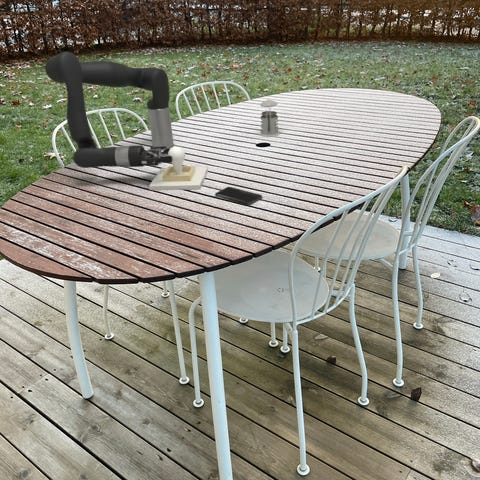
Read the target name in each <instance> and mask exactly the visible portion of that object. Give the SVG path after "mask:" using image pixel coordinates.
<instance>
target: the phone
mask: <svg viewBox="0 0 480 480" xmlns="http://www.w3.org/2000/svg"><path fill="white" fill-rule="evenodd" d="M214 196H215V197H216V198H219V199H223V200H227V201H229V202H232V203H233V202H234V203H236V204H240V205H244V206H252V205H253V204H255V203H257V202H258V201H260V200H262V199H263V195H262V194H259V193H254V192H252V191H247V190H244V189H240V188H237V187H232V186H227V187H225V188H222V189H221V190H218V191H217V192H215V193H214Z"/></svg>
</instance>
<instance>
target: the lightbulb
mask: <svg viewBox="0 0 480 480" xmlns="http://www.w3.org/2000/svg"><path fill="white" fill-rule="evenodd" d="M169 149H170V150H169V152H168V155H167V156H172V162H171V164H172V167H174V170H175V174H176V175H182V169H183V167H182V166H184V165H183V164H184V162H185V159H186V158H185V157H186V153H185V150H184V149H183V148H182V147H179V146H172V147H170V148H169Z"/></svg>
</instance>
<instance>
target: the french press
mask: <svg viewBox="0 0 480 480" xmlns="http://www.w3.org/2000/svg"><path fill="white" fill-rule="evenodd" d="M270 81H271V78H270V77H267V78H266V82H267V88H268V95H270V88H269V87H270V85H269V83H270ZM278 103H279V102H277V101H275V100H270V99H267V100H264V101H262V102H260V104H259V105H260V107H261V108H262V107H263V108H269V110H268V109H266V111H262V112H261V113H260V114H261V115H260V128H261V129H260V130H261V131H260V133H259V134H258V135H259V136H260V137H264V138H274V137H279V136H280V135H281V133H280V131H279V123H278V122H279V120H278V119H279V115H278V112H277V111H274V110H271V109H270V108H271V107H272V108H273V107H276V106H278Z"/></svg>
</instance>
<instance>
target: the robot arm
mask: <svg viewBox="0 0 480 480" xmlns="http://www.w3.org/2000/svg"><path fill="white" fill-rule="evenodd" d="M44 71H45V74H46V75H47V77H48V78H49V79H50V80H52V81H53V82H55V83H58V84H65V86H66V87H65V88H66V93H67V95H66V96H67V101H66V103H67V104H66V121H67V122H66V123H67V126H68V131H69V133H70V134H69V135H70V138H71V140H72V141H73V142H75V143H76V145H77V148H78V149H76V150H75V151H74V153H73V155H72V160H73V163H74V164H75V165H76V166H77V167H79V168H83V169H88V168H89V169H90V168H100V167H109V168H111V167H114V168H116V167H119V168H120V167H122V168H136V167H137V168H138V167H140V168H141V167H143V168H144V167H147V166H148V167H149V166H150V167H153V166H154V167H157V166H159V165H161V164H167V163H168V164H169V163H171V162H172V156H168V152H169V150H170V149H171V148H173V147H174V145H175V144H174V136H173V129H172V120H171V113H170V84H169V83H170V82H169V77H168V74H167V72H166V71H165V70H164V69H163V68H159V67H157V68H156V67H131V66H128V65H125V64H123V63H121V62H116V61H115V62H114V61H110V60H95V61H88V62H80V59H79V58H78V57H77V56H76V55H75V54H74V53H73V52H70V51H63V52H60V53H58V54H56V55H54V56H51V57H49V59H47V61H46V62H45V65H44ZM83 84H88V85H94V86H100V87H109V88H126V87H131V88H132V87H133V88H137V89H143V90H145V91H149V92H152V93H151V95H152V98H150V99H149V100H147V101H146V108H147V114H148V115H147V116H148V121H149V122H148V123H149V128H150V134H151V142H152V146H150V147H149V149H147V150H146V149H145V147H144V146H143V145H121V146H106V147H101V148H98V147H97V144H96V141H95V140H94V138H93V137H92V131H91V128H90V124H89V121H88V115H87V112H86V111H87V110H86V103H85V96H84V95H85V94H84V86H83ZM171 164H172V163H171Z"/></svg>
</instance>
